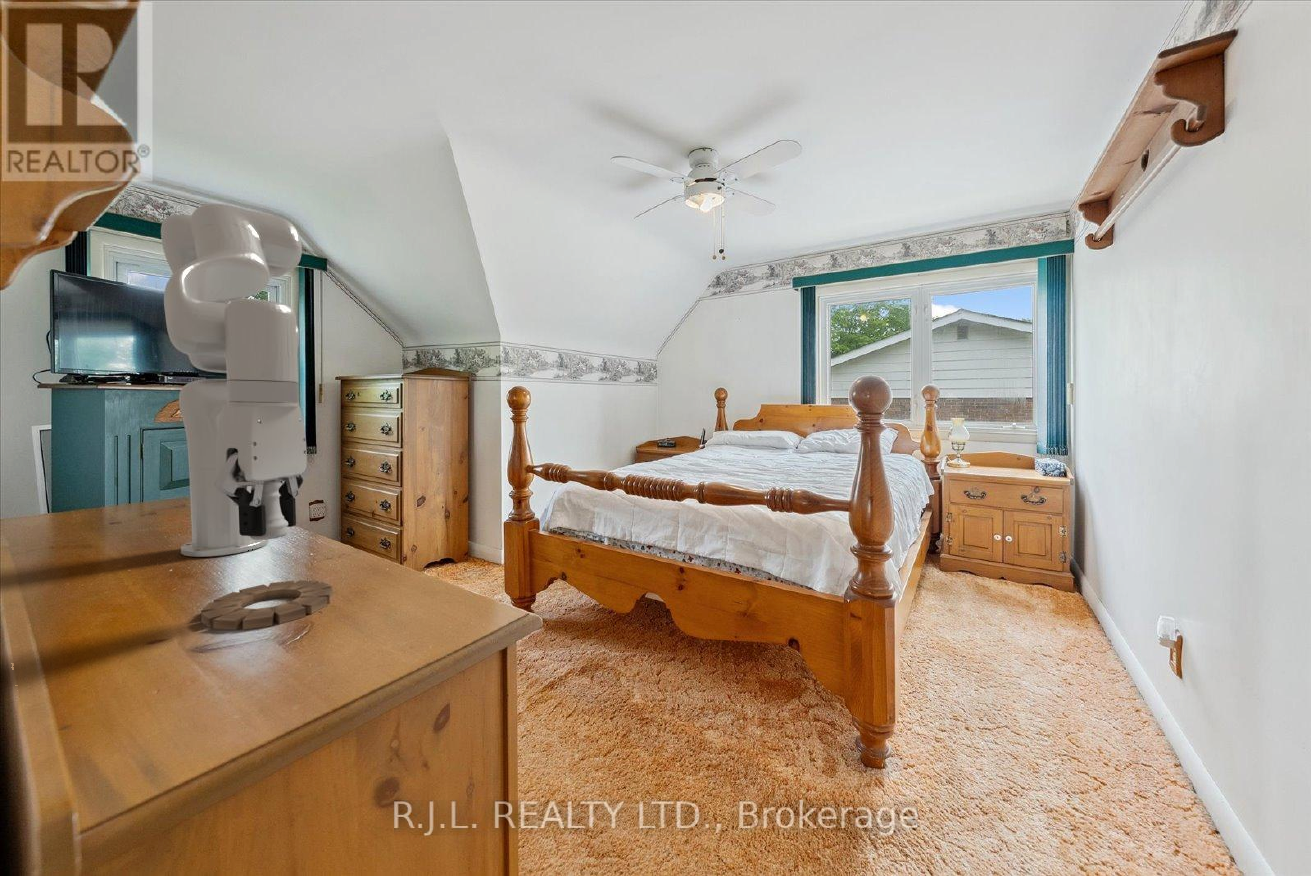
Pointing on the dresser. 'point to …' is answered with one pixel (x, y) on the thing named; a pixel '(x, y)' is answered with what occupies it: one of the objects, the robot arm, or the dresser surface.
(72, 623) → the dresser surface
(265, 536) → the rook chess piece
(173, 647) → the dresser surface
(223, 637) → the dresser surface
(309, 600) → the walnut ring
